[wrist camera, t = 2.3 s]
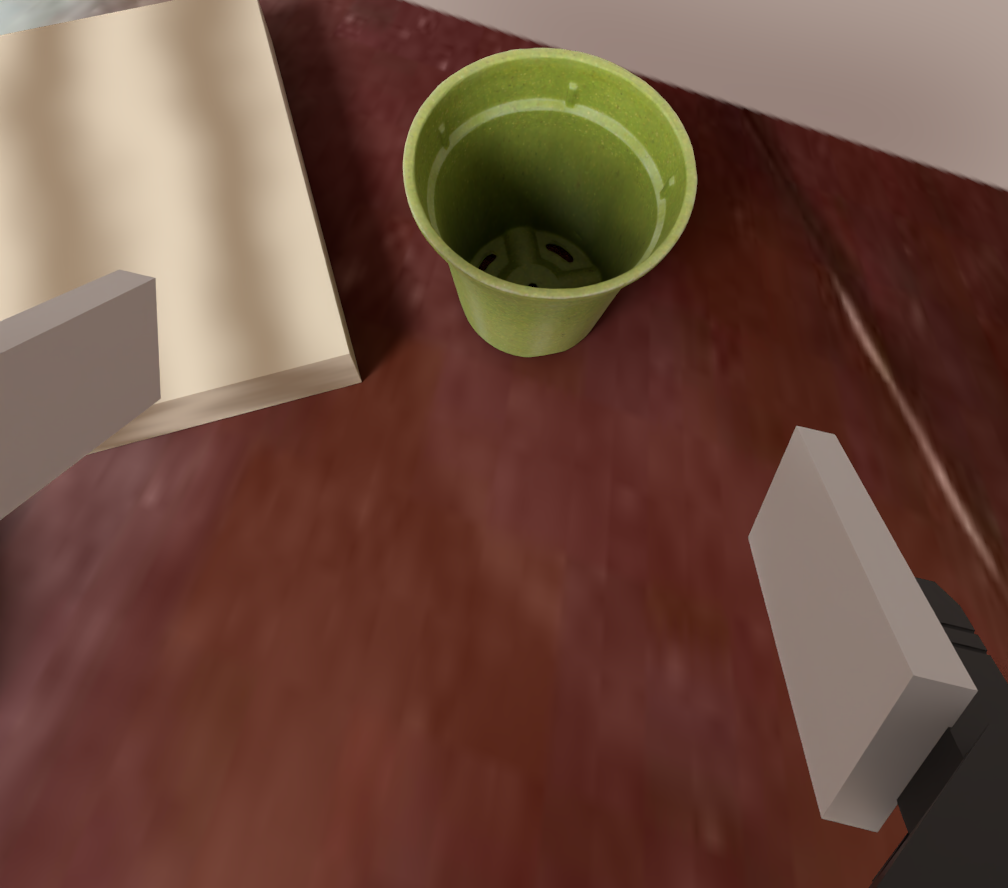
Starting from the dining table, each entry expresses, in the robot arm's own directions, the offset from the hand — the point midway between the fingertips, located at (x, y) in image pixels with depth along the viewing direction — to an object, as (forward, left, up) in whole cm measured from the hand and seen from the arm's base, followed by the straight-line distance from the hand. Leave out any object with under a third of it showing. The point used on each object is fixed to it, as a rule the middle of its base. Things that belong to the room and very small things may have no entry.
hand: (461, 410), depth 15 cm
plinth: (+12, -16, -14) cm, 25 cm away
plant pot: (-5, -9, -15) cm, 18 cm away
